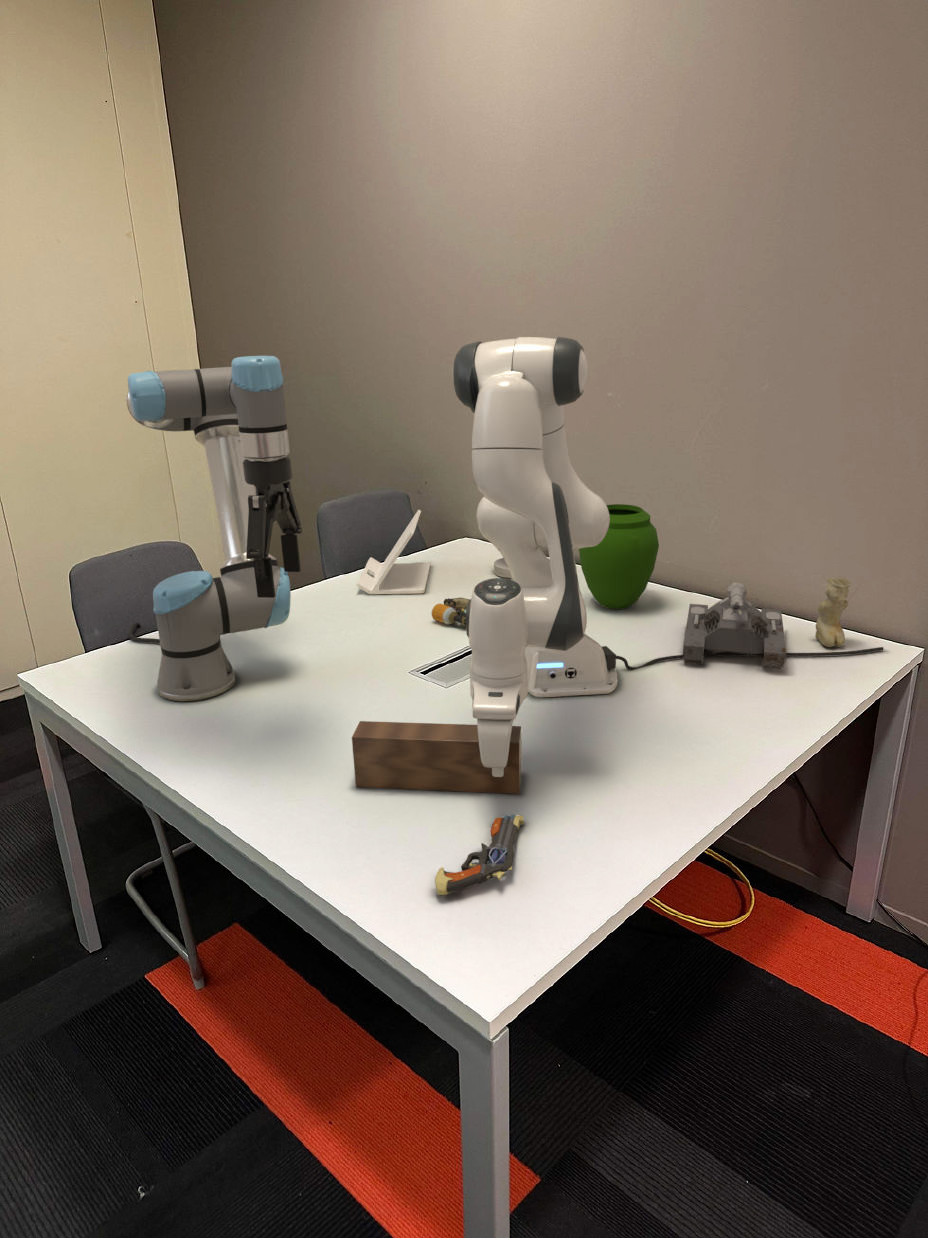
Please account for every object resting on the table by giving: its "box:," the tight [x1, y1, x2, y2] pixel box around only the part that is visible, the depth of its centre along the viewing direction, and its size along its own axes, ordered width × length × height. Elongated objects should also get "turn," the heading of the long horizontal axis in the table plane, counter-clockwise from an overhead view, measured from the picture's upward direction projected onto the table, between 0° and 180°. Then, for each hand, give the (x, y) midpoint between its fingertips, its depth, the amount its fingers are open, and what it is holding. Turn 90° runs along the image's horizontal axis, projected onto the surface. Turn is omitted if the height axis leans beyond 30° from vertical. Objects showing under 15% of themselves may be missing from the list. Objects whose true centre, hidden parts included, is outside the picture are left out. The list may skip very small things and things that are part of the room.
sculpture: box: [814, 576, 852, 648], centre depth 185 cm, size 6×7×15 cm
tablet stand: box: [356, 509, 431, 595], centre depth 236 cm, size 18×25×17 cm
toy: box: [682, 581, 787, 670], centre depth 184 cm, size 25×20×15 cm
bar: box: [351, 720, 522, 795], centre depth 137 cm, size 26×6×9 cm, turn 83°
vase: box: [578, 503, 660, 610], centre depth 210 cm, size 20×20×24 cm
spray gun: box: [430, 597, 471, 627], centre depth 208 cm, size 4×17×15 cm
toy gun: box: [434, 813, 525, 896], centre depth 119 cm, size 3×19×10 cm
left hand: (280, 583), depth 144 cm, fingers open, 13 cm apart
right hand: (500, 763), depth 136 cm, fingers closed on bar, 5 cm apart
